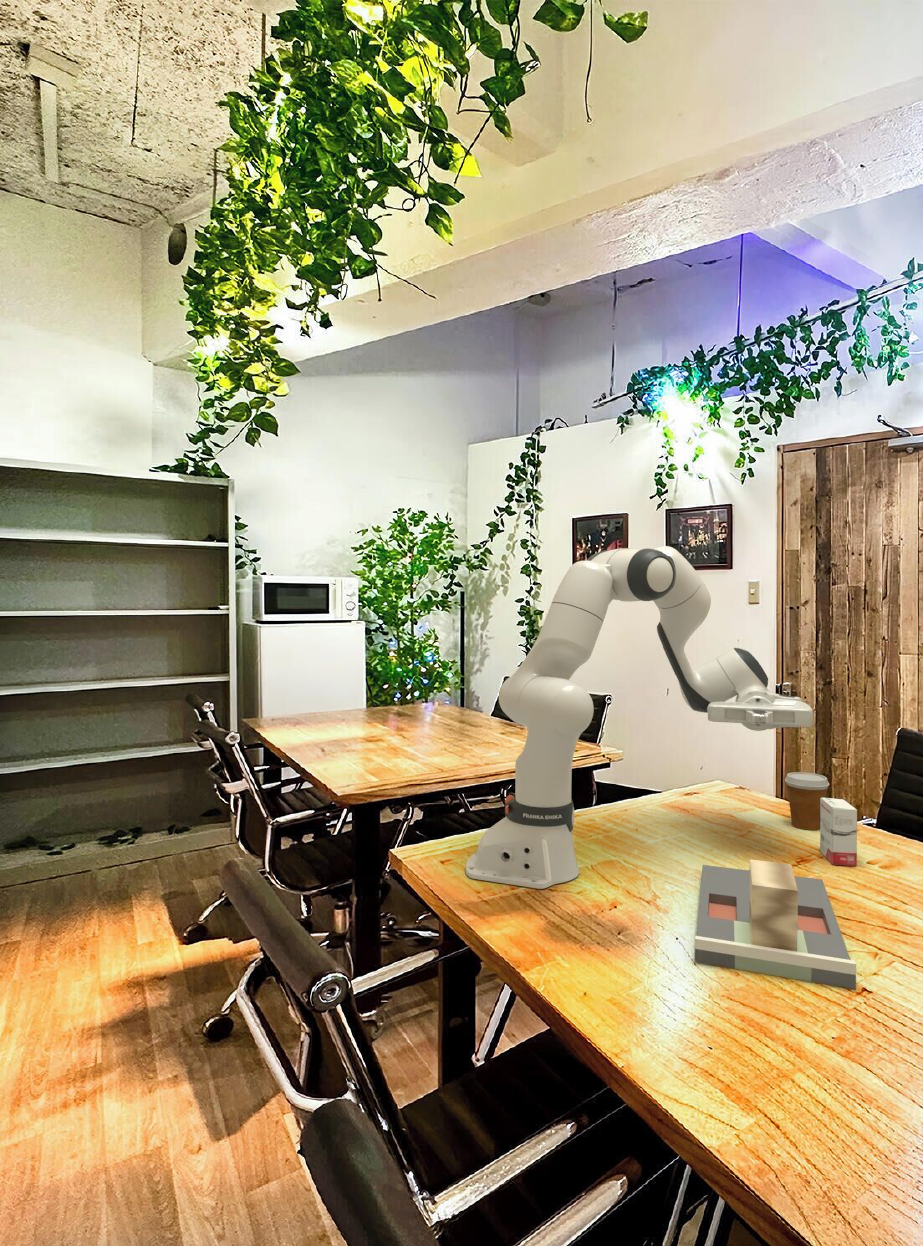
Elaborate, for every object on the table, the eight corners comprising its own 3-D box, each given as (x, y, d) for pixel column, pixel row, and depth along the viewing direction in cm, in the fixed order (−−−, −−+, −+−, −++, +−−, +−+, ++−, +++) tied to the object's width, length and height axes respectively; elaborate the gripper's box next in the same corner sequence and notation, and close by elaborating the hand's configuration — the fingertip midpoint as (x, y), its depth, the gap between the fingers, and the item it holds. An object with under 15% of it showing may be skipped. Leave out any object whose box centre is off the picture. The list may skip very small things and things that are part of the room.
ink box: (858, 867, 141) (858, 809, 141) (831, 865, 142) (832, 807, 142) (843, 852, 149) (844, 797, 149) (819, 850, 150) (819, 796, 150)
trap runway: (694, 961, 103) (695, 938, 103) (702, 874, 137) (702, 857, 137) (855, 989, 96) (856, 964, 96) (822, 889, 130) (822, 871, 130)
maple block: (751, 952, 102) (752, 884, 102) (749, 920, 112) (749, 859, 112) (797, 959, 100) (797, 890, 100) (790, 926, 110) (790, 864, 110)
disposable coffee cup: (775, 822, 170) (776, 773, 170) (807, 818, 173) (807, 770, 173) (805, 834, 161) (806, 782, 161) (838, 830, 164) (838, 779, 164)
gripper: (707, 693, 157) (705, 701, 144) (808, 697, 150) (816, 705, 137) (706, 721, 157) (705, 731, 144) (808, 726, 150) (815, 738, 137)
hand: (760, 719), depth 140 cm, fingers closed
